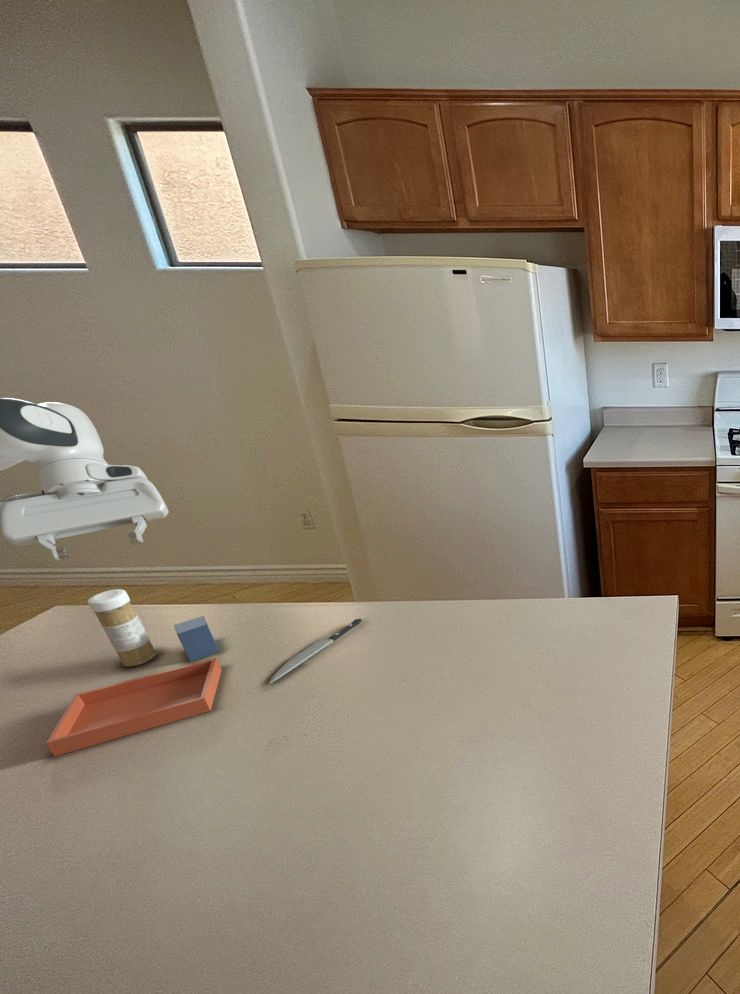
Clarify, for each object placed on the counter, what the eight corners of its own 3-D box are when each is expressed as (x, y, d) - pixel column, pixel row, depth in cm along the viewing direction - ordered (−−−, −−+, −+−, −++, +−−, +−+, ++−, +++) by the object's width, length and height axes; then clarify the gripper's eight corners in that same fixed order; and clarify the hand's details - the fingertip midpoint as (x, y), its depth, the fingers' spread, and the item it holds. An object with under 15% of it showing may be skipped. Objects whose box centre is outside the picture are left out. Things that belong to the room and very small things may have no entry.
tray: (54, 756, 79) (45, 743, 77) (82, 706, 87) (74, 694, 86) (210, 710, 87) (204, 698, 86) (222, 669, 96) (216, 657, 95)
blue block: (190, 661, 98) (176, 634, 95) (187, 652, 100) (173, 624, 98) (219, 651, 100) (207, 624, 98) (215, 642, 103) (203, 615, 100)
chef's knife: (256, 683, 93) (269, 685, 92) (253, 677, 93) (266, 680, 92) (352, 620, 110) (364, 622, 109) (350, 615, 109) (362, 617, 108)
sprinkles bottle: (135, 652, 100) (102, 589, 94) (164, 650, 100) (132, 587, 95) (115, 669, 96) (78, 603, 90) (145, 666, 96) (110, 601, 91)
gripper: (-18, 490, 93) (3, 562, 90) (149, 464, 105) (171, 527, 103) (1, 507, 97) (21, 575, 95) (159, 480, 110) (180, 540, 108)
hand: (100, 550), depth 99 cm, fingers open, 8 cm apart
